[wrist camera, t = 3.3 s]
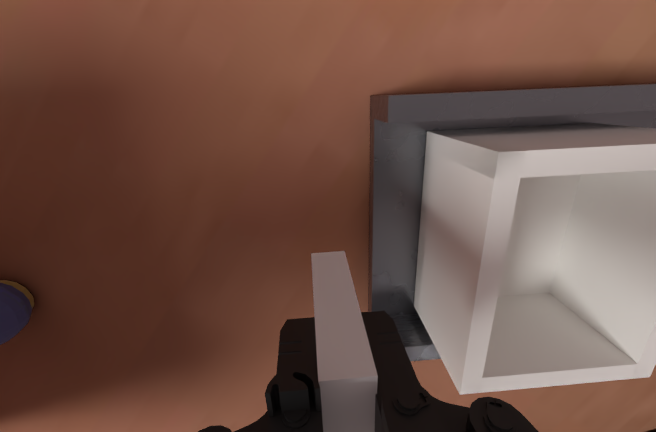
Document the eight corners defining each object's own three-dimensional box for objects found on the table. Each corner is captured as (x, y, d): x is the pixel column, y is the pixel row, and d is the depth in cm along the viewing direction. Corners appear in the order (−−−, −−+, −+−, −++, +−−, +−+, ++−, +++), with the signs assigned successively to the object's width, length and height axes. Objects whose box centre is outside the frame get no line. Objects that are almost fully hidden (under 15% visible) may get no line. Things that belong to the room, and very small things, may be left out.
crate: (595, 123, 18) (758, 138, 12) (549, 295, 22) (649, 377, 16) (426, 131, 18) (498, 152, 11) (413, 305, 22) (459, 394, 15)
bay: (845, 75, 19) (1074, 66, 14) (733, 290, 25) (860, 348, 19) (370, 95, 18) (401, 95, 12) (368, 319, 24) (388, 391, 18)
